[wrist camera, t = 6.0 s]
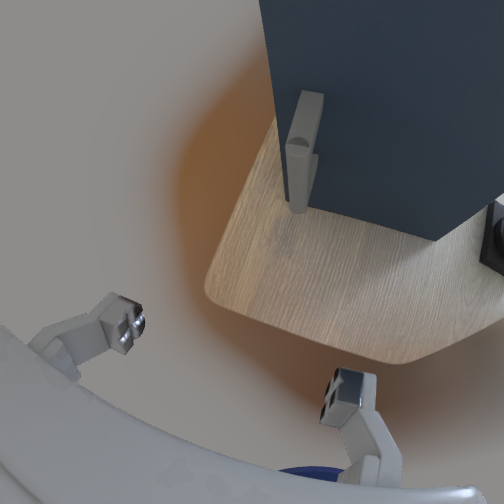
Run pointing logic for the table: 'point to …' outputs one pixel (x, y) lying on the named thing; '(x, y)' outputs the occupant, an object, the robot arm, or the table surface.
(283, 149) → the door
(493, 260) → the button box
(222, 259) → the table surface
